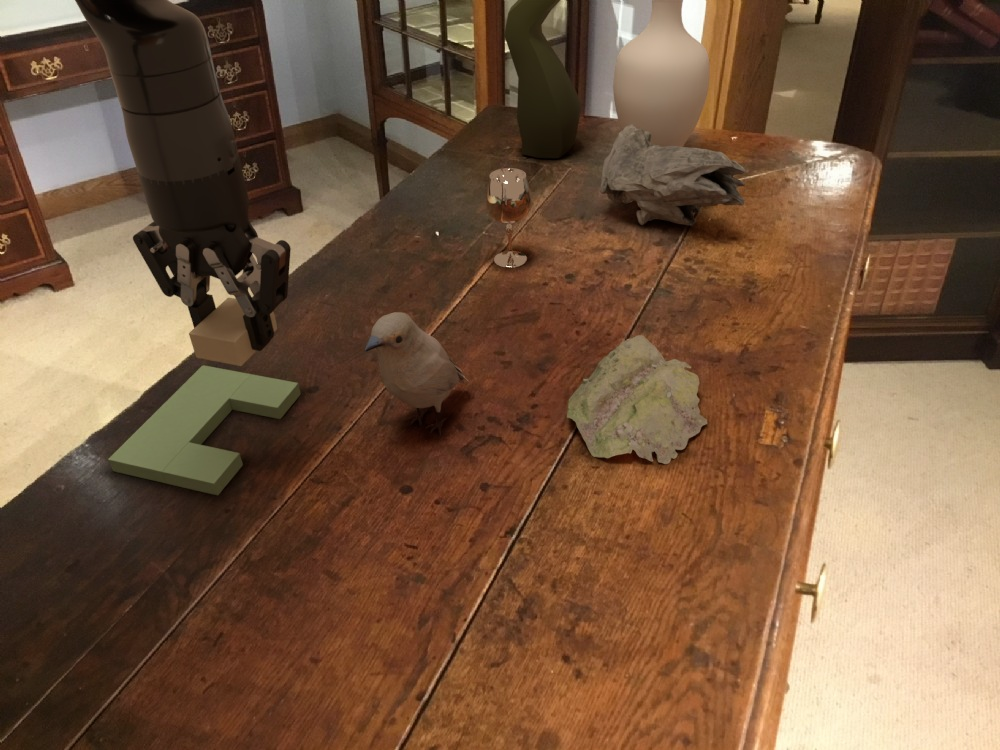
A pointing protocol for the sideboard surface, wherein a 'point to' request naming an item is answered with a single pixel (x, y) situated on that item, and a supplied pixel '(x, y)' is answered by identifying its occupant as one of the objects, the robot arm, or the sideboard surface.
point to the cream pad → (224, 335)
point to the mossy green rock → (637, 404)
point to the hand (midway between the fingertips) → (236, 340)
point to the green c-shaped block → (200, 429)
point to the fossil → (668, 178)
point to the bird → (413, 364)
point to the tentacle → (541, 84)
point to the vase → (662, 78)
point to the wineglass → (508, 208)
